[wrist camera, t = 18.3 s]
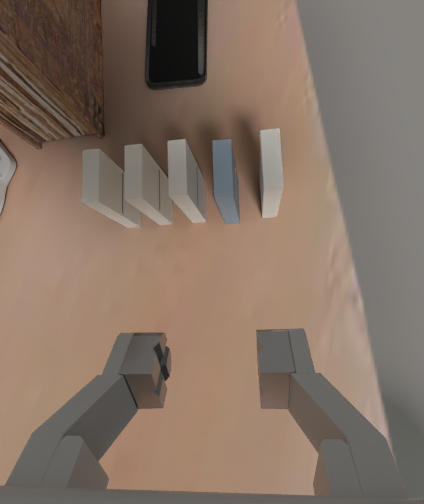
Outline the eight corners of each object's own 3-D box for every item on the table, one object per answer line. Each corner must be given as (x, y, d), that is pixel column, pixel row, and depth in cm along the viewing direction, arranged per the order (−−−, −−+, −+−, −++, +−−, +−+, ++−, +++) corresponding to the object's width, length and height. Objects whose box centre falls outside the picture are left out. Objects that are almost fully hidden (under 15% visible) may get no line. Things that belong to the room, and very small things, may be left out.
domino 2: (159, 225, 37) (124, 199, 27) (159, 185, 38) (124, 145, 28) (172, 224, 37) (142, 197, 27) (172, 183, 37) (141, 143, 28)
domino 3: (192, 222, 36) (168, 195, 27) (191, 182, 37) (167, 140, 27) (206, 221, 36) (187, 194, 26) (204, 180, 37) (185, 138, 27)
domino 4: (225, 224, 36) (213, 196, 26) (224, 182, 36) (212, 140, 27) (239, 223, 35) (233, 195, 26) (238, 181, 36) (231, 138, 26)
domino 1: (127, 227, 37) (81, 203, 28) (127, 187, 38) (82, 150, 28) (140, 226, 37) (98, 201, 27) (140, 186, 38) (99, 148, 28)
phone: (206, -25, 40) (205, 81, 38) (208, -17, 41) (207, 87, 39) (148, -17, 41) (143, 86, 39) (150, -9, 42) (146, 92, 40)
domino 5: (262, 217, 35) (263, 187, 25) (259, 175, 36) (259, 130, 26) (276, 216, 35) (283, 185, 25) (273, 174, 36) (279, 128, 26)
